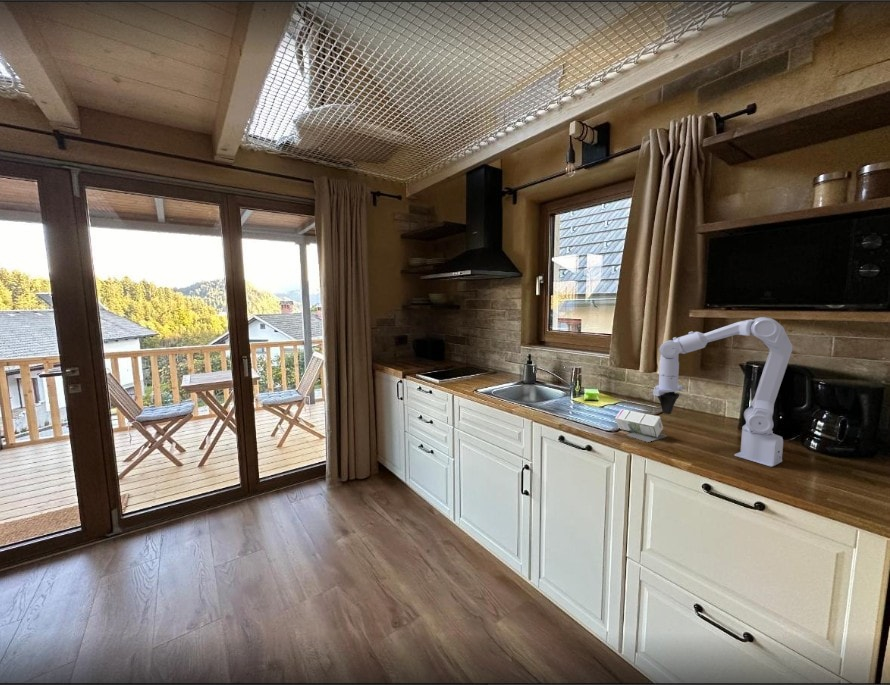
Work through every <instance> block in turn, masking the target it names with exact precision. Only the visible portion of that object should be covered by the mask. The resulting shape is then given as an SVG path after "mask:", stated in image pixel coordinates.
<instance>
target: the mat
mask: <svg viewBox="0 0 890 685" xmlns="http://www.w3.org/2000/svg"><path fill="white" fill-rule="evenodd" d="M625 436H627V437H629V438H632V437H633V438H632V439H635V438H636V439H635V440H638V439H639V441H641V440H642V442H644V441H646V442H645V443H648V442H649V443H652V442H655V441H658V440H660V439H664V438H667V437H668V435H667V434H663V433H661V432H660V434H659V435H658V437H657V438H656V437H652V436H648V435H644V434H639V433H635V432H630V433H627V434H625ZM651 441H652V442H651Z"/></svg>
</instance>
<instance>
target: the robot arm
mask: <svg viewBox="0 0 890 685" xmlns="http://www.w3.org/2000/svg"><path fill="white" fill-rule="evenodd" d="M750 333H751V334H750ZM738 335H741V336H745V337H746V336H749V337H750V336H751V335H753V336H754V337H756V338H758V340H761V341H762V342H763V344H764V345H765V346H766V347H767V348H768V350H769V351H768V355H767V358H766V361H765V364H764V367H763V369H762V374H761V376H760V378H759V381H758V385H757V388H756V391H755V395H754V397H753V399H752V401H751V403H750V404H749V407H747V408H746V409H745V410H744V412H743V418H744V420H745V424H744V425H742V429H741V440H740V441H741V442H740V451H739V452H737V453H734V457H736V458H737V457H738V458H740V459H743V460H748V461H751V462H755V463H758V464H761V465H764V466H767V467H770V468H771V467H775V466H776V465H779V464H780V463H783V453H784V452H783V449H784V439H783V436H781V435H778V434H775V433H773V432H774V431H773V428H774V420H773V416H774V411H775V410H774V407H775V402H776V399H777V397H778V394H779V391H780V387H781V384H782V382H783V379H784V376H785V373H786V370H787V368H788V363H789V360H790V358H791V355H792V352H793V344H792V342H791V340H790V338H789V337H788V334H787V333H786V330H785V328H784V326H783V325H782V324H780V323H779V322H778V321H776V320H775V319H773V318H770V317H766V316H760V317H759V316H758V317H756V318H754V319H746V320H739V321H737V322H734V323H731V324H728V325H725V326H723V327H719V328H717V329H714V330H711V331H708V332H705V333H703V332H700V331H692V330H691V331H689V332H688V334H685V335H682V336H679V337H677V336H675V337H673V338H672V339H670V340H666V341H664V342H663V343H662V344H661V345H660V347H659V352H660V356H659V357H660V358H659V360H660V361H659V368H658V370H659V371H658V385H657V384H656V385H655V386H654V387H655V388H654V389H653V390H652V396H656V397H657V399H658V400H659V402H660V407H661V409H662V410H661V411H662V413H663V414H666V415H670V414H672V412H673V408H674V406H675V404H676V401H678V400H677V399H679V397H680V393H678V392H682V391H683V385H682V384H681V385H680V384H679V376H680V375H679V373H680V372H679V371H680V370H679V369H680V361H679V357H680V356H679V355H680V354H683V355H685V354H688V353H691V352H695V351H698V350H701V349H704V348H706V346H707V345H708V343H711V342H714V341H718V340H723V339H725V338H728V337H733V336H738ZM676 392H677V393H676Z"/></svg>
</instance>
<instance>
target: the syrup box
mask: <svg viewBox="0 0 890 685" xmlns="http://www.w3.org/2000/svg"><path fill="white" fill-rule="evenodd" d="M614 419H615V421H616V424H617V427H618V429H619V428H620V430H623V431H628V432H630V433H633V432H635V433H639V434H644V435H648V436H652V437H656V438H657V437H658V435H659V434H660V433H661V432H662V430H664V426H663V423H662V420H661V419H662V418H661V416H659V415H653V414H649V413H645V412H644V413H643V412H638V411H634V410H628V409H624V408H623V409H622V408H621V409H620V410H619V411H618V412H617V414H616V415H615V418H614Z"/></svg>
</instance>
